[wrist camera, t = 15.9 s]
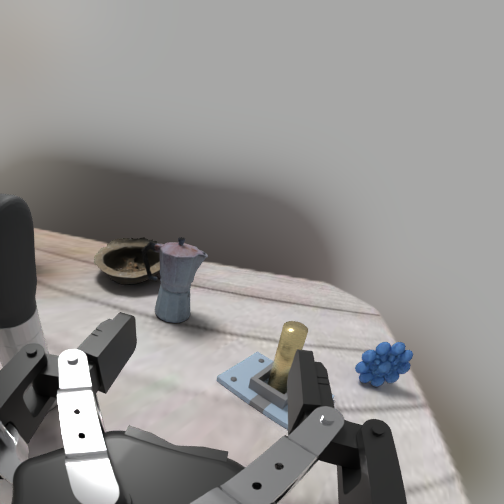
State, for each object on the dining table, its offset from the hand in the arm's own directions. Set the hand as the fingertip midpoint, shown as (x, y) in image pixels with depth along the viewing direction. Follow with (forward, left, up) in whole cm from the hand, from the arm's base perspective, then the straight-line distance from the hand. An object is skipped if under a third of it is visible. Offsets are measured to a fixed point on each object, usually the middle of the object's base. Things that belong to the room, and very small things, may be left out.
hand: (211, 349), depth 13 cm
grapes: (+7, +44, -30) cm, 54 cm away
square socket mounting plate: (-8, +27, -30) cm, 41 cm away
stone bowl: (-65, +30, -30) cm, 78 cm away
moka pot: (-41, +28, -30) cm, 58 cm away
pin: (-8, +27, -29) cm, 40 cm away
